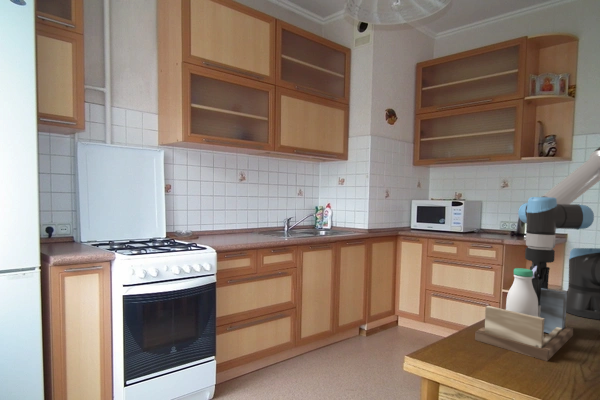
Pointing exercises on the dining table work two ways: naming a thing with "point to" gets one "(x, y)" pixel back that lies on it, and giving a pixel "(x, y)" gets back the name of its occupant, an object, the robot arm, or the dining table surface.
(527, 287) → the milk bottle
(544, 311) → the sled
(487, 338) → the dark wooden tray
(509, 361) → the dining table surface
